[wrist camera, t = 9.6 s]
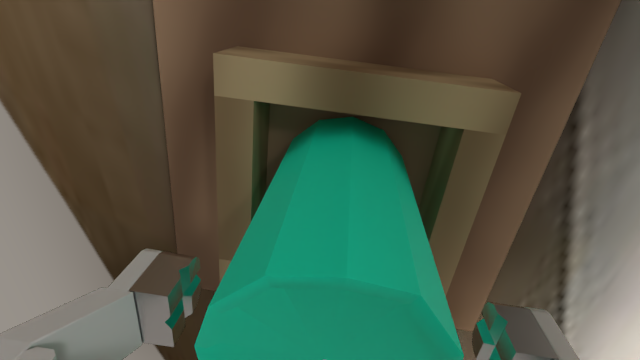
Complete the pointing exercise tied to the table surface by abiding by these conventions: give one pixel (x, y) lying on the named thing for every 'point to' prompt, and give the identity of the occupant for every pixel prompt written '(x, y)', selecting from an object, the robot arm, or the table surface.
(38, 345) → the robot arm
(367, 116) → the candle holder
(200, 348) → the candle
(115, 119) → the table surface
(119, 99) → the table surface
